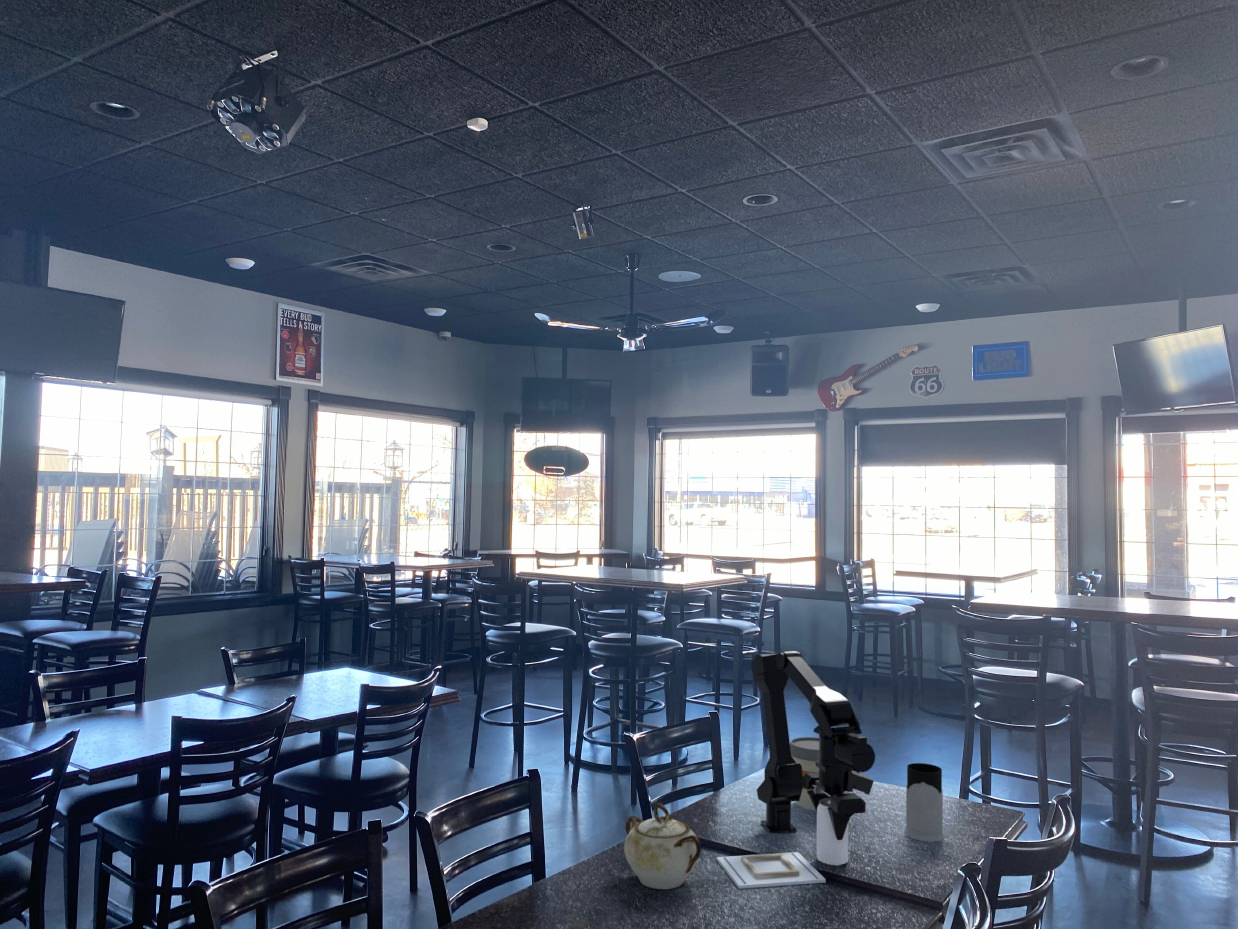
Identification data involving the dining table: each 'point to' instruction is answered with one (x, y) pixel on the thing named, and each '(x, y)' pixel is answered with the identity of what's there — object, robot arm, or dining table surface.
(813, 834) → the dining table surface
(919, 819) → the glass holder
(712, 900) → the dining table surface
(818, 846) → the can
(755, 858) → the seat frame
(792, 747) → the reusable coffee cup
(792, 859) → the grey flat tray
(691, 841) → the sugar bowl
